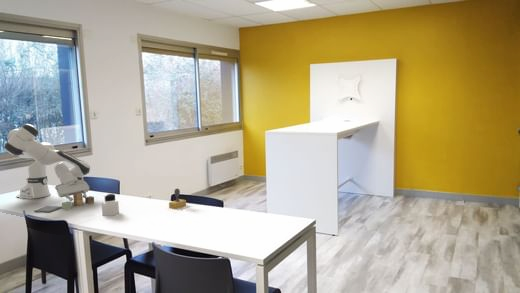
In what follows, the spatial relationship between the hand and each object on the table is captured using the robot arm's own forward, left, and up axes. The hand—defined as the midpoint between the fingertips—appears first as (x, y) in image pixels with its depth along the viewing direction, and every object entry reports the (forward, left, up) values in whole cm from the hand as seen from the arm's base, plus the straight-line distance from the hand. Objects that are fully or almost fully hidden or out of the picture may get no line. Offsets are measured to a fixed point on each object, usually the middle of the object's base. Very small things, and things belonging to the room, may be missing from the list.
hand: (78, 198), depth 260 cm
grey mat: (-13, -12, -5) cm, 18 cm away
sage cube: (-4, -7, -5) cm, 9 cm away
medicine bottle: (+32, -15, -5) cm, 36 cm away
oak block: (-1, 0, -5) cm, 5 cm away
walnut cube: (+3, +8, -5) cm, 9 cm away
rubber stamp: (+66, +6, -5) cm, 67 cm away
